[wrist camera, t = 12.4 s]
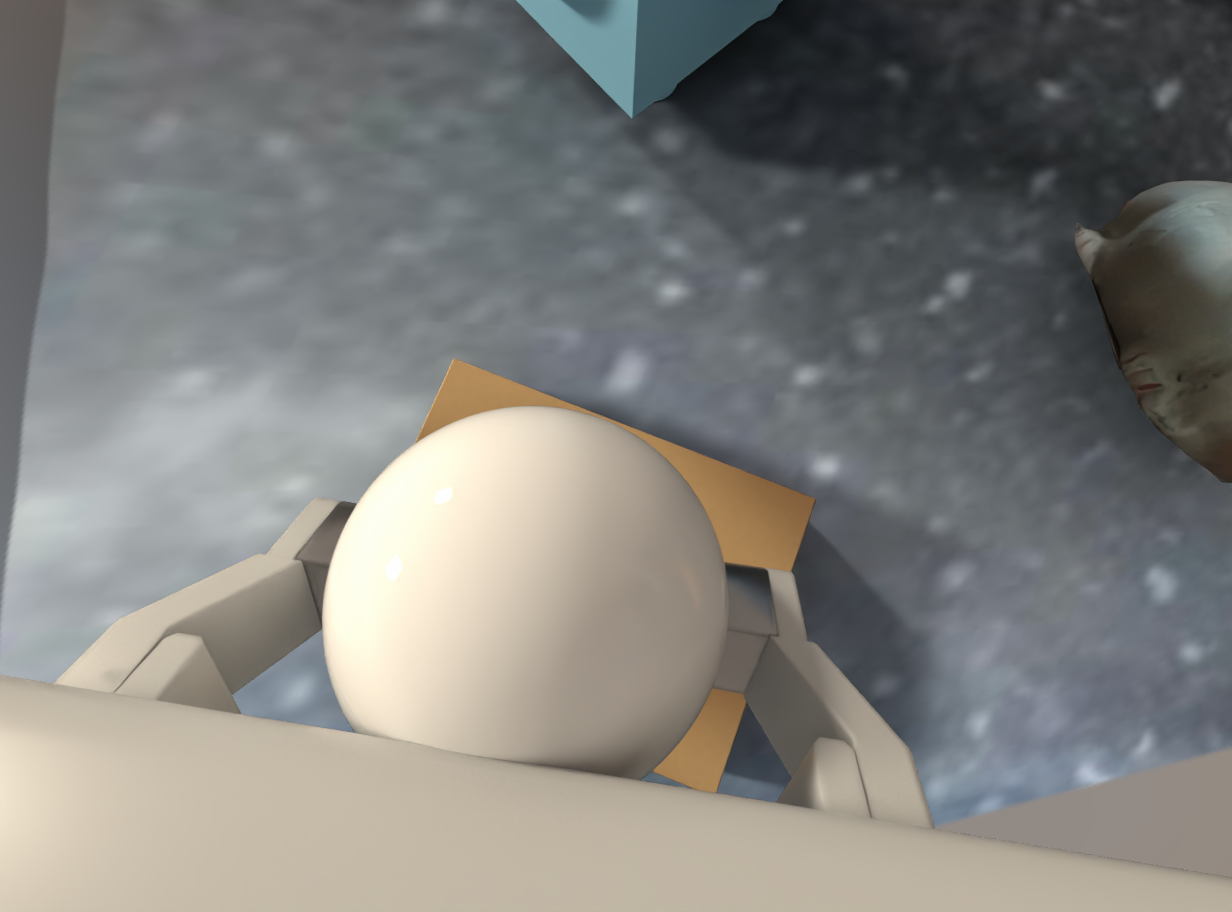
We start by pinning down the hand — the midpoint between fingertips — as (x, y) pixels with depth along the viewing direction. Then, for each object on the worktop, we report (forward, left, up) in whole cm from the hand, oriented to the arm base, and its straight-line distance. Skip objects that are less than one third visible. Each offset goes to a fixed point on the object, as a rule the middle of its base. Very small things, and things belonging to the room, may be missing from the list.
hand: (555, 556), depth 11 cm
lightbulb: (-1, 0, -6) cm, 6 cm away
